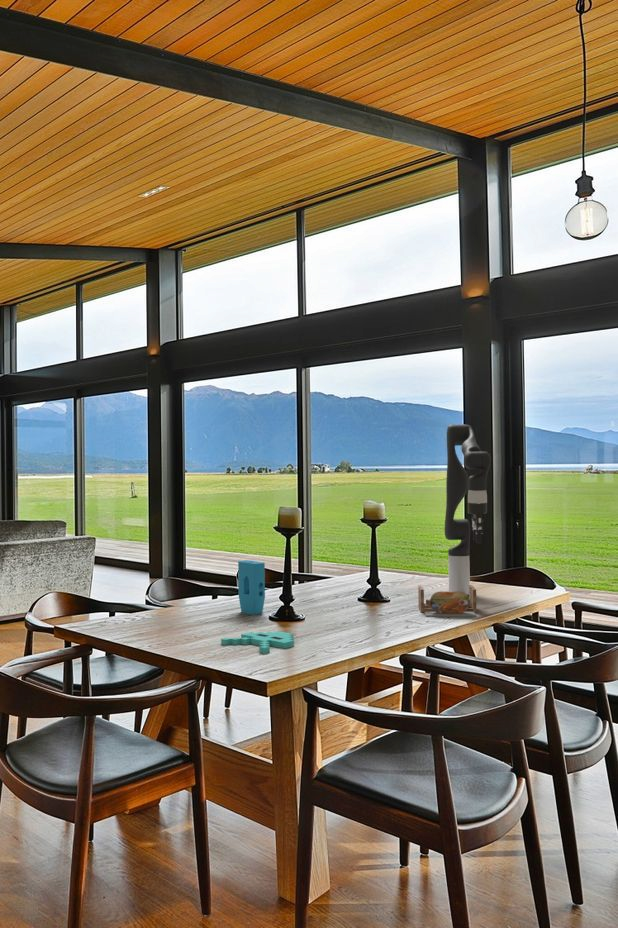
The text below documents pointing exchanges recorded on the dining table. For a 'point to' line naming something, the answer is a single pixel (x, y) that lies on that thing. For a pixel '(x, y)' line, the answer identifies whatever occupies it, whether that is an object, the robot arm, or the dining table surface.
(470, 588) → the rack
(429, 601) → the offcut oak
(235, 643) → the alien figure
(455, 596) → the tin
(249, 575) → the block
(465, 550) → the robot arm
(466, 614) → the felt mat
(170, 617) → the dining table surface
